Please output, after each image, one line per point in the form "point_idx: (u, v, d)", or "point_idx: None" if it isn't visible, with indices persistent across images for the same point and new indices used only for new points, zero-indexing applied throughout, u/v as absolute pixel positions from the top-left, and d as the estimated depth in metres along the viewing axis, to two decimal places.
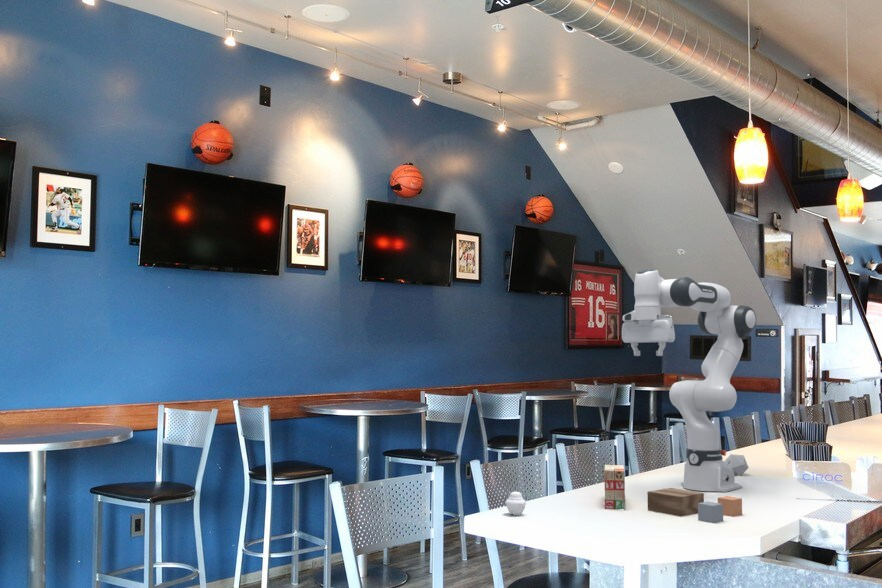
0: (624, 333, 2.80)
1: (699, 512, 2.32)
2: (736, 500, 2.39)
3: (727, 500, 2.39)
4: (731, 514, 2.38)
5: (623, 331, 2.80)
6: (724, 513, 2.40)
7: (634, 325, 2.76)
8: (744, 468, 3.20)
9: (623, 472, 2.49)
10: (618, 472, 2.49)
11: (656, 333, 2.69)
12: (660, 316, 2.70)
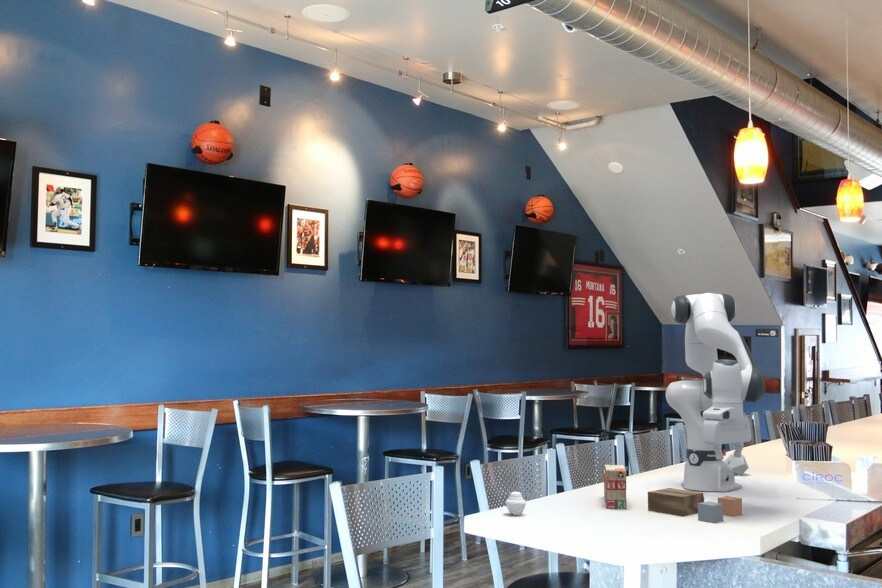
0: (717, 434, 2.36)
1: (699, 512, 2.32)
2: (736, 500, 2.39)
3: (727, 500, 2.39)
4: (731, 514, 2.38)
5: (717, 431, 2.36)
6: (724, 513, 2.40)
7: (725, 424, 2.39)
8: (744, 468, 3.20)
9: (625, 472, 2.49)
10: (620, 472, 2.49)
11: (742, 433, 2.44)
12: None
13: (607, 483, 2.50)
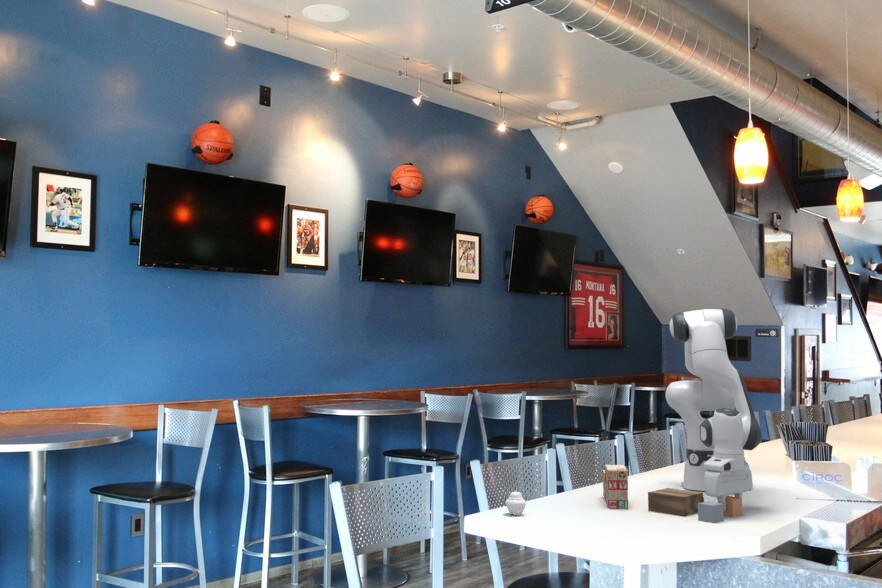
0: (718, 486, 2.35)
1: (699, 512, 2.32)
2: (736, 500, 2.39)
3: (727, 500, 2.39)
4: (731, 514, 2.38)
5: (718, 483, 2.35)
6: (724, 513, 2.40)
7: (726, 476, 2.38)
8: None
9: (626, 472, 2.49)
10: (621, 472, 2.49)
11: (743, 483, 2.43)
12: None
13: (609, 483, 2.50)
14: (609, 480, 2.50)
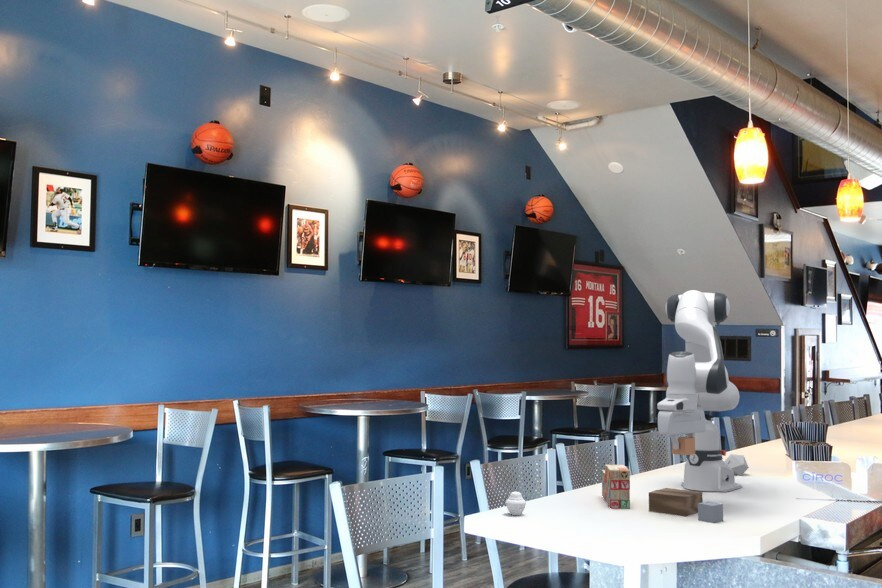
0: (671, 425, 2.40)
1: (699, 512, 2.32)
2: (689, 439, 2.44)
3: (680, 439, 2.44)
4: (684, 452, 2.43)
5: (671, 422, 2.40)
6: (677, 452, 2.45)
7: (679, 415, 2.43)
8: (744, 468, 3.20)
9: (628, 472, 2.50)
10: (623, 472, 2.50)
11: (696, 424, 2.49)
12: None
13: (611, 483, 2.50)
14: (611, 480, 2.50)
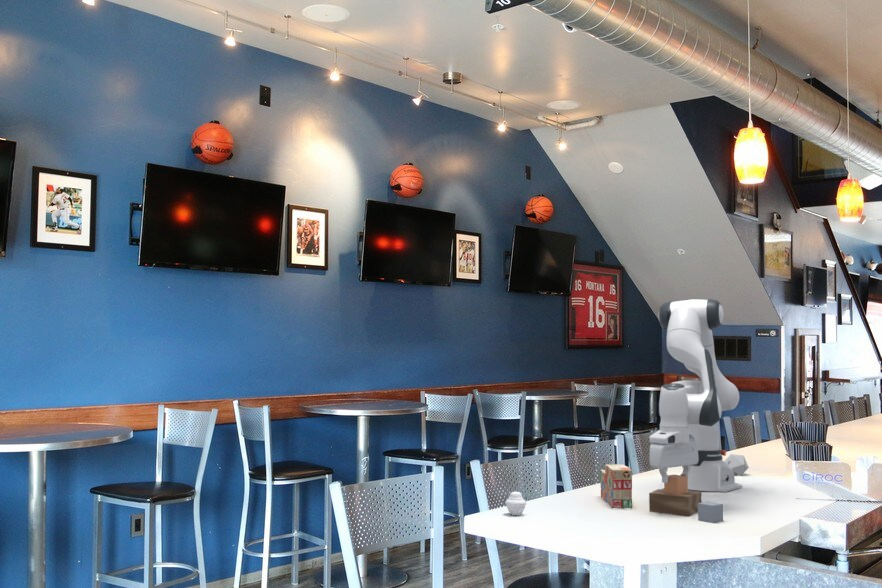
0: (662, 458, 2.40)
1: (699, 512, 2.32)
2: (681, 478, 2.44)
3: (673, 478, 2.44)
4: (676, 491, 2.43)
5: (662, 456, 2.40)
6: (670, 491, 2.45)
7: (671, 448, 2.43)
8: (744, 468, 3.20)
9: (630, 471, 2.50)
10: (626, 471, 2.50)
11: (689, 456, 2.49)
12: None
13: (613, 483, 2.50)
14: (613, 480, 2.50)
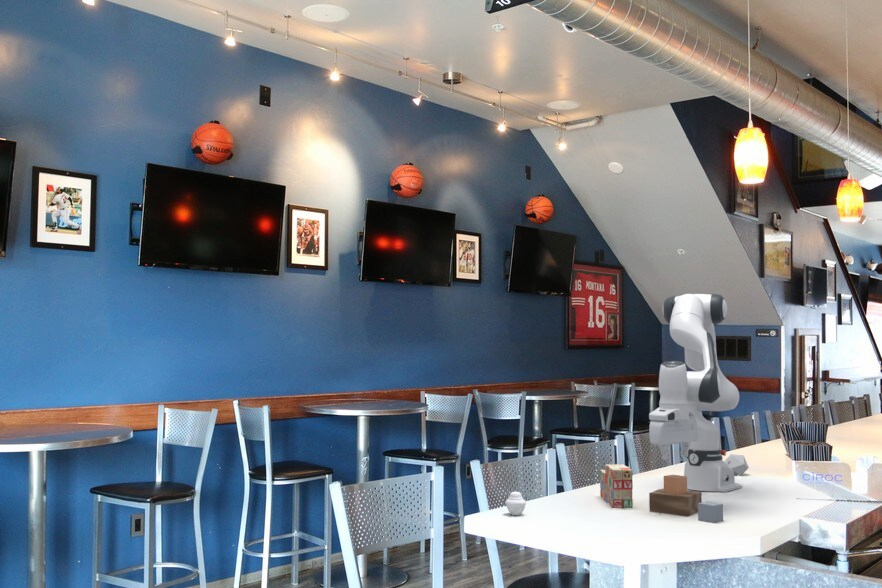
0: (662, 435, 2.41)
1: (699, 512, 2.32)
2: (681, 478, 2.44)
3: (672, 478, 2.44)
4: (676, 492, 2.43)
5: (662, 433, 2.41)
6: (669, 491, 2.45)
7: (670, 425, 2.44)
8: (744, 468, 3.20)
9: (631, 471, 2.50)
10: (626, 471, 2.50)
11: (688, 433, 2.49)
12: None
13: (614, 483, 2.50)
14: (614, 480, 2.50)
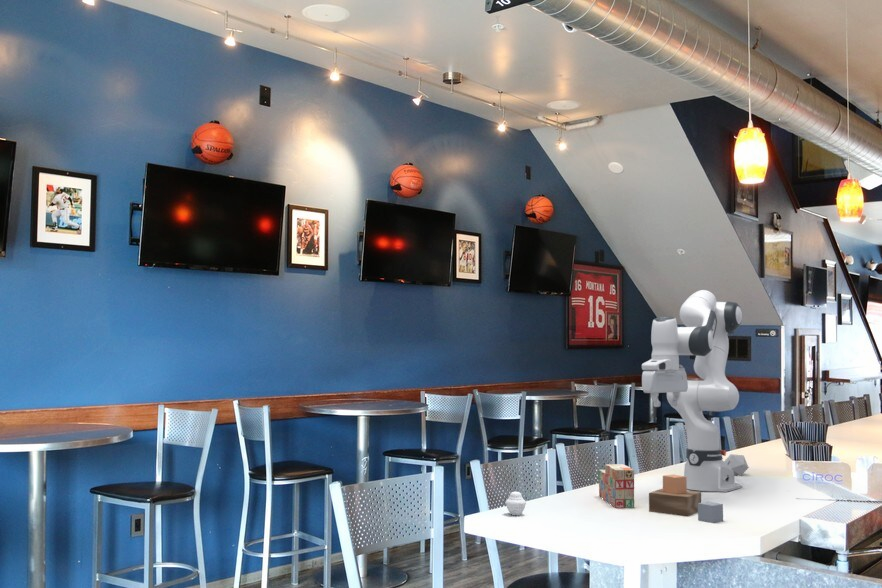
0: (654, 383, 2.59)
1: (699, 512, 2.32)
2: (680, 478, 2.44)
3: (671, 478, 2.45)
4: (674, 491, 2.43)
5: (654, 381, 2.59)
6: (668, 491, 2.45)
7: (662, 375, 2.62)
8: (744, 468, 3.20)
9: (633, 471, 2.51)
10: (628, 471, 2.51)
11: (679, 383, 2.67)
12: None
13: (616, 483, 2.50)
14: (616, 480, 2.50)
